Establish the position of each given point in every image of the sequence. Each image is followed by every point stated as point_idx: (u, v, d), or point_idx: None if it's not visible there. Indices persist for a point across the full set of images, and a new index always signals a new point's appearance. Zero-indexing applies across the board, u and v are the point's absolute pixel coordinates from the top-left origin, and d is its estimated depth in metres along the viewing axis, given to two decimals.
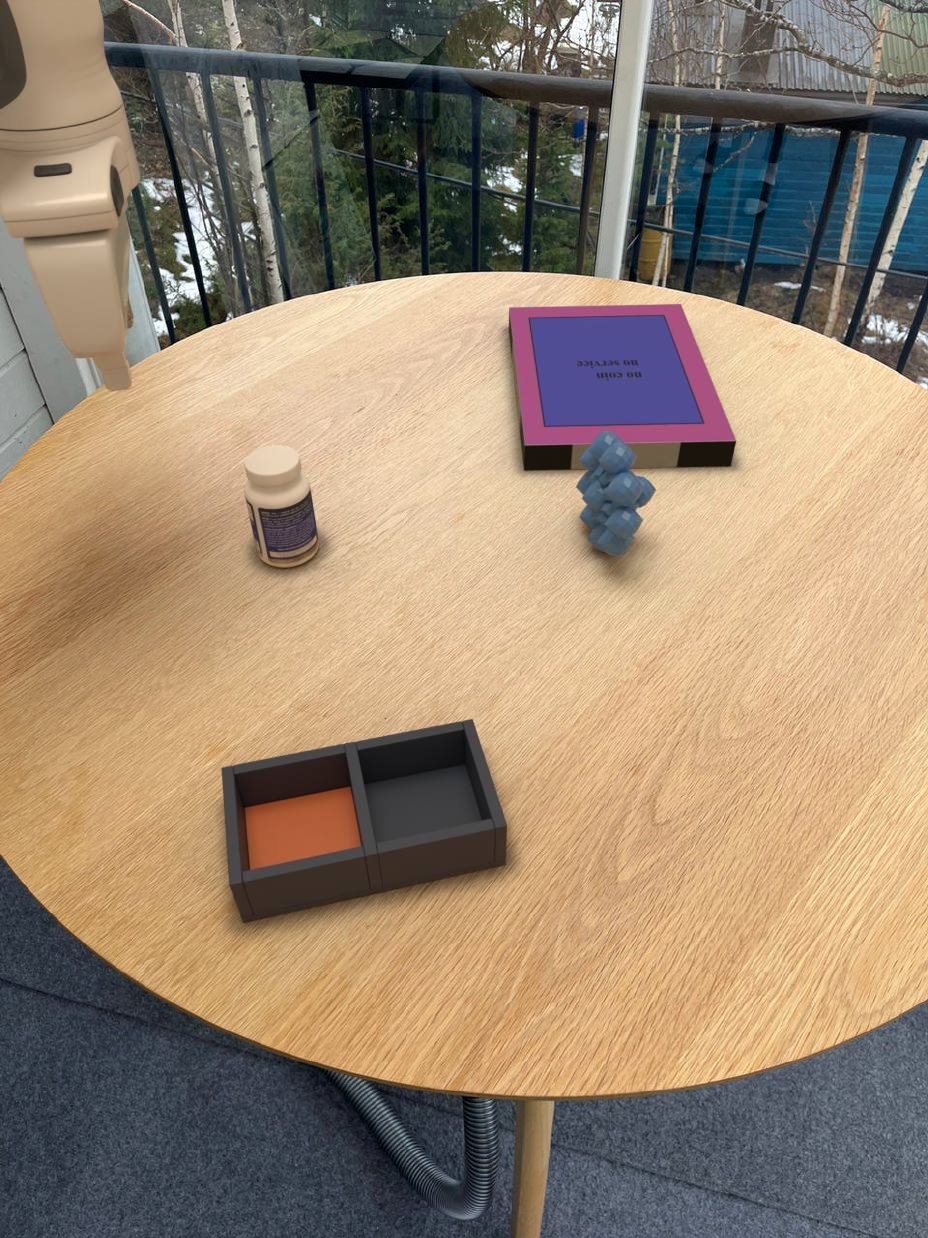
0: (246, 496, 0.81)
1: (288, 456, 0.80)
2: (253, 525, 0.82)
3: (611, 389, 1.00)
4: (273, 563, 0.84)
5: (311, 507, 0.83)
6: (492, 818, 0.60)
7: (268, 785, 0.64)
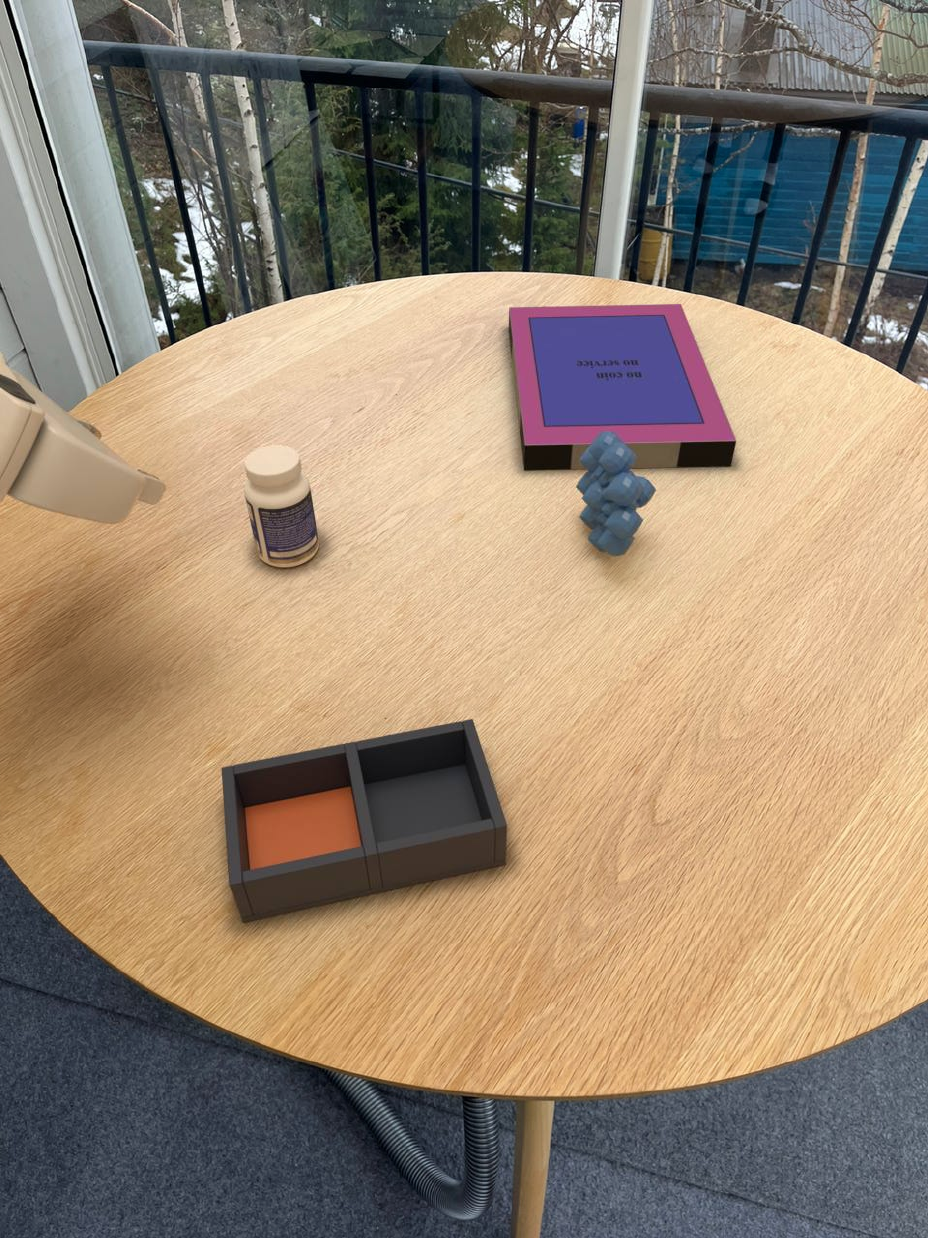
0: (246, 496, 0.81)
1: (288, 456, 0.80)
2: (253, 525, 0.82)
3: (611, 389, 1.00)
4: (273, 563, 0.84)
5: (311, 507, 0.83)
6: (492, 818, 0.60)
7: (268, 785, 0.64)
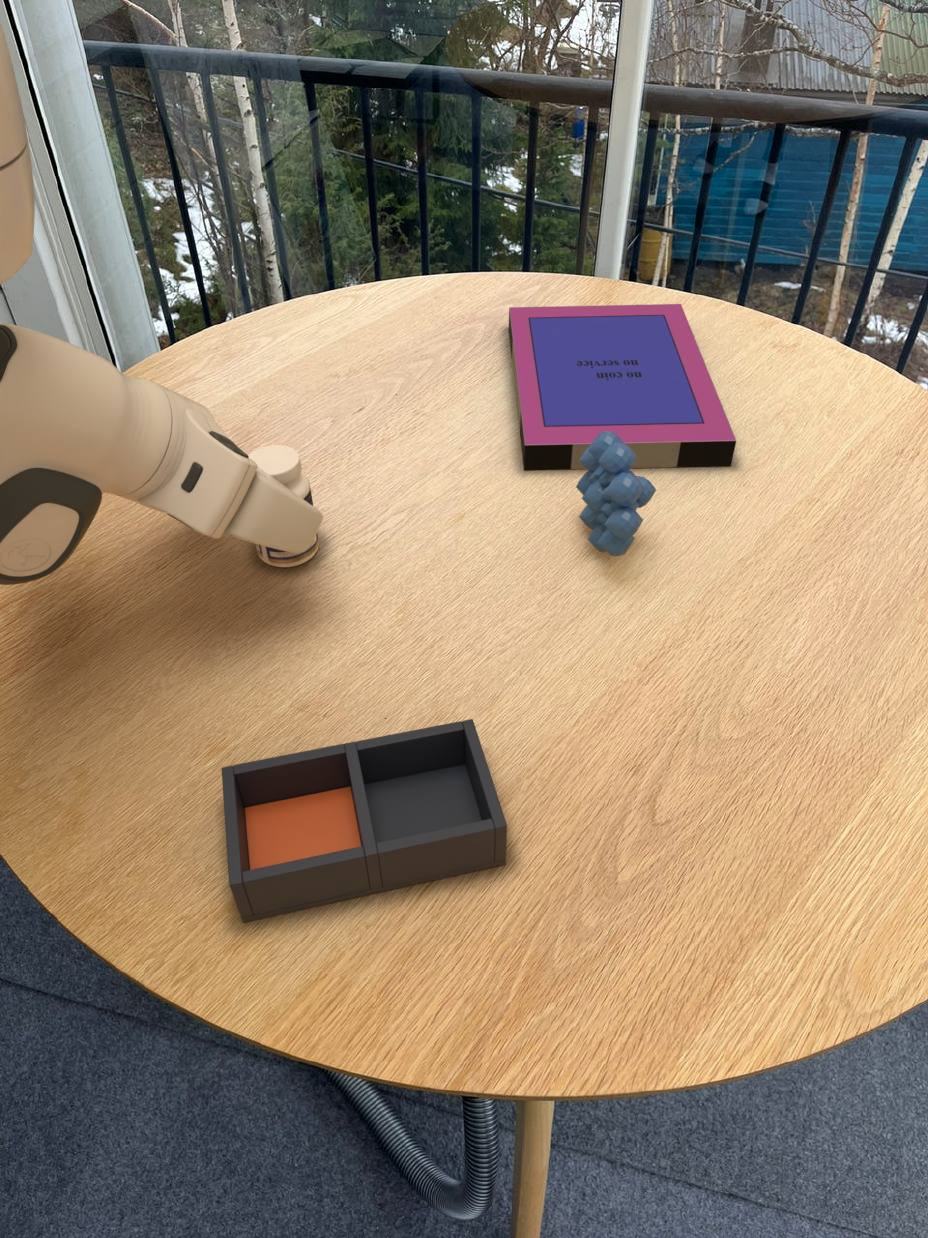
0: None
1: (288, 456, 0.80)
2: None
3: (611, 389, 1.00)
4: (273, 563, 0.84)
5: None
6: (492, 818, 0.60)
7: (268, 785, 0.64)
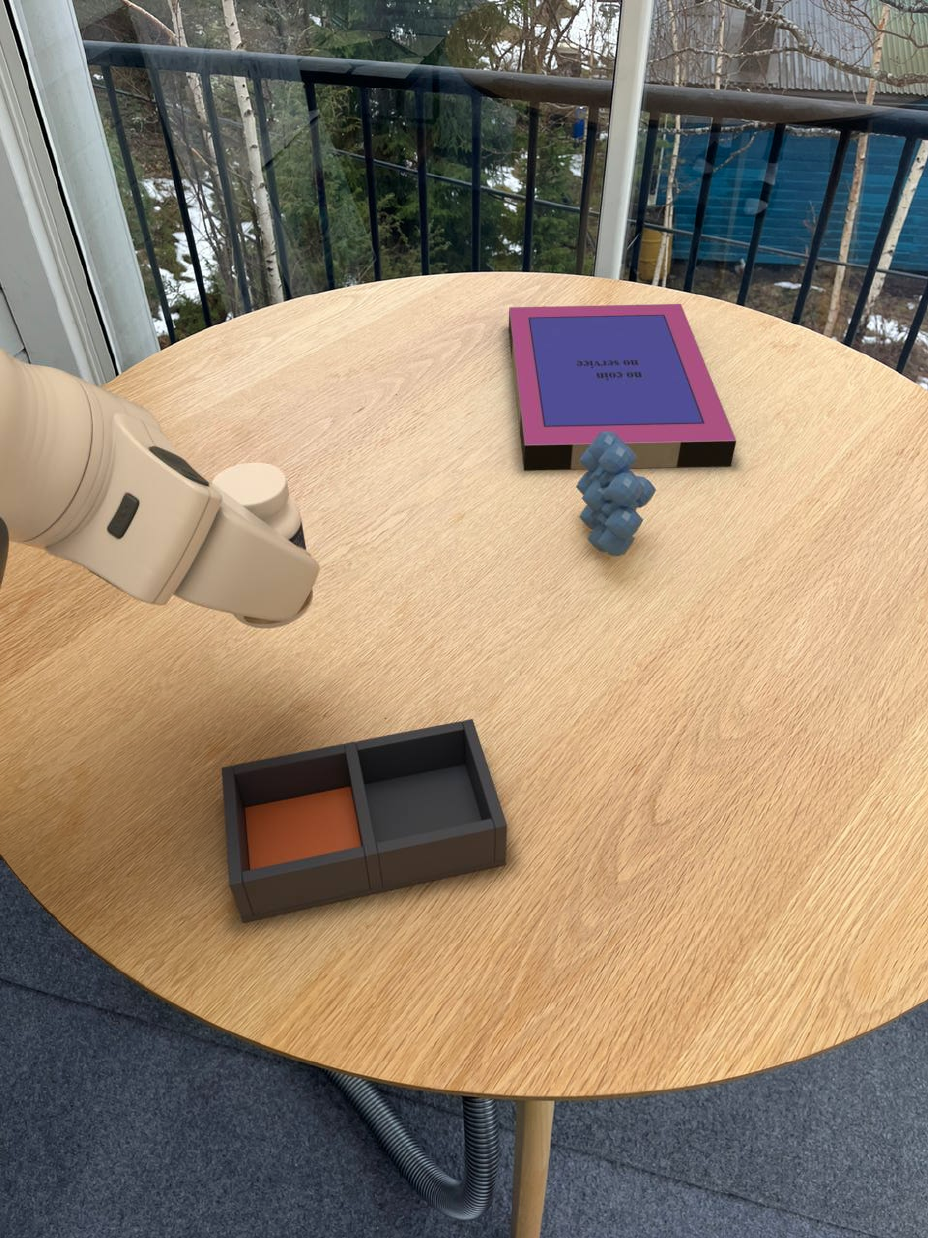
0: None
1: (271, 478, 0.57)
2: None
3: (611, 389, 1.00)
4: (251, 624, 0.62)
5: (303, 548, 0.60)
6: (492, 818, 0.60)
7: (268, 785, 0.64)
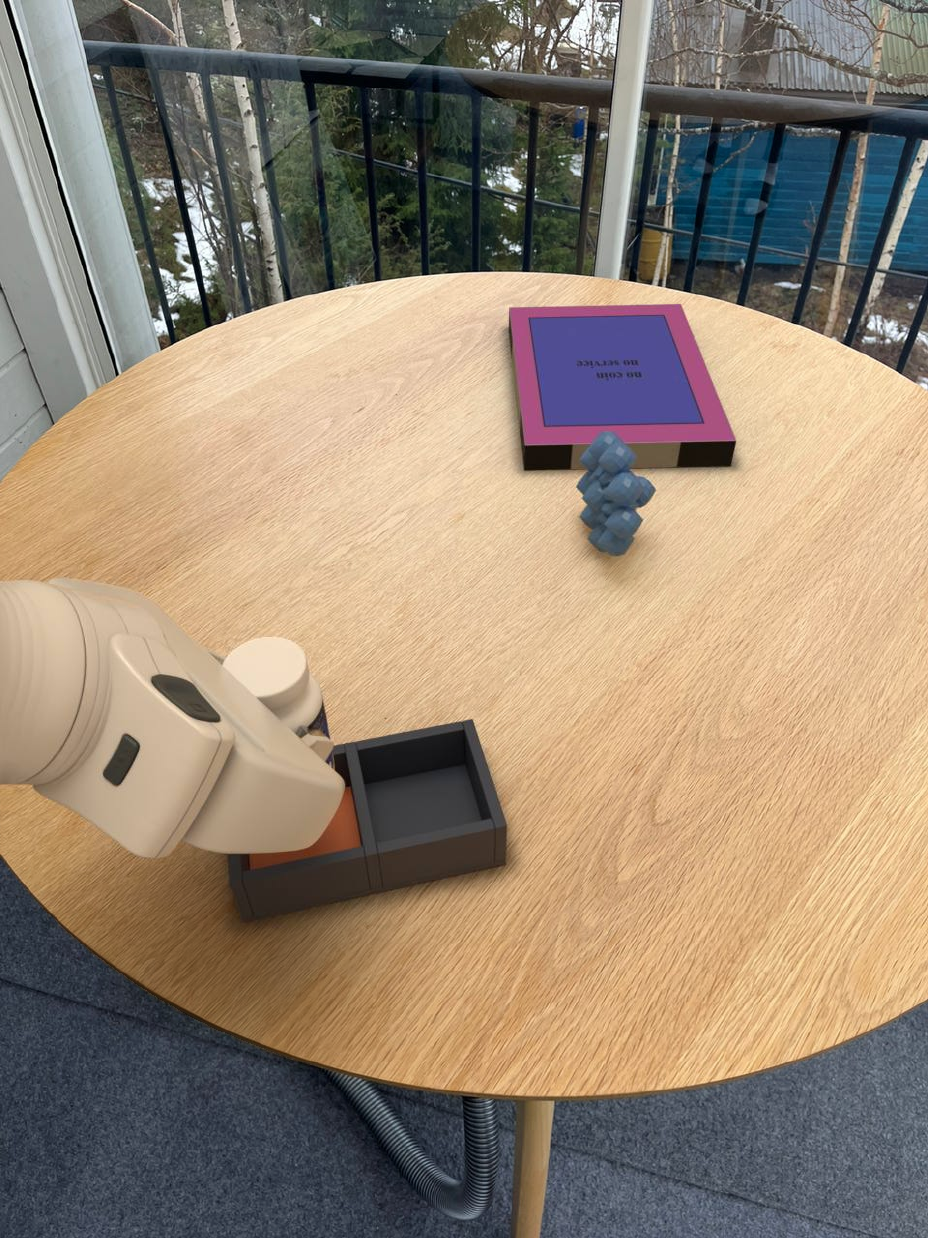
0: None
1: (289, 659, 0.51)
2: None
3: (611, 389, 1.00)
4: None
5: (324, 727, 0.54)
6: (492, 818, 0.60)
7: None
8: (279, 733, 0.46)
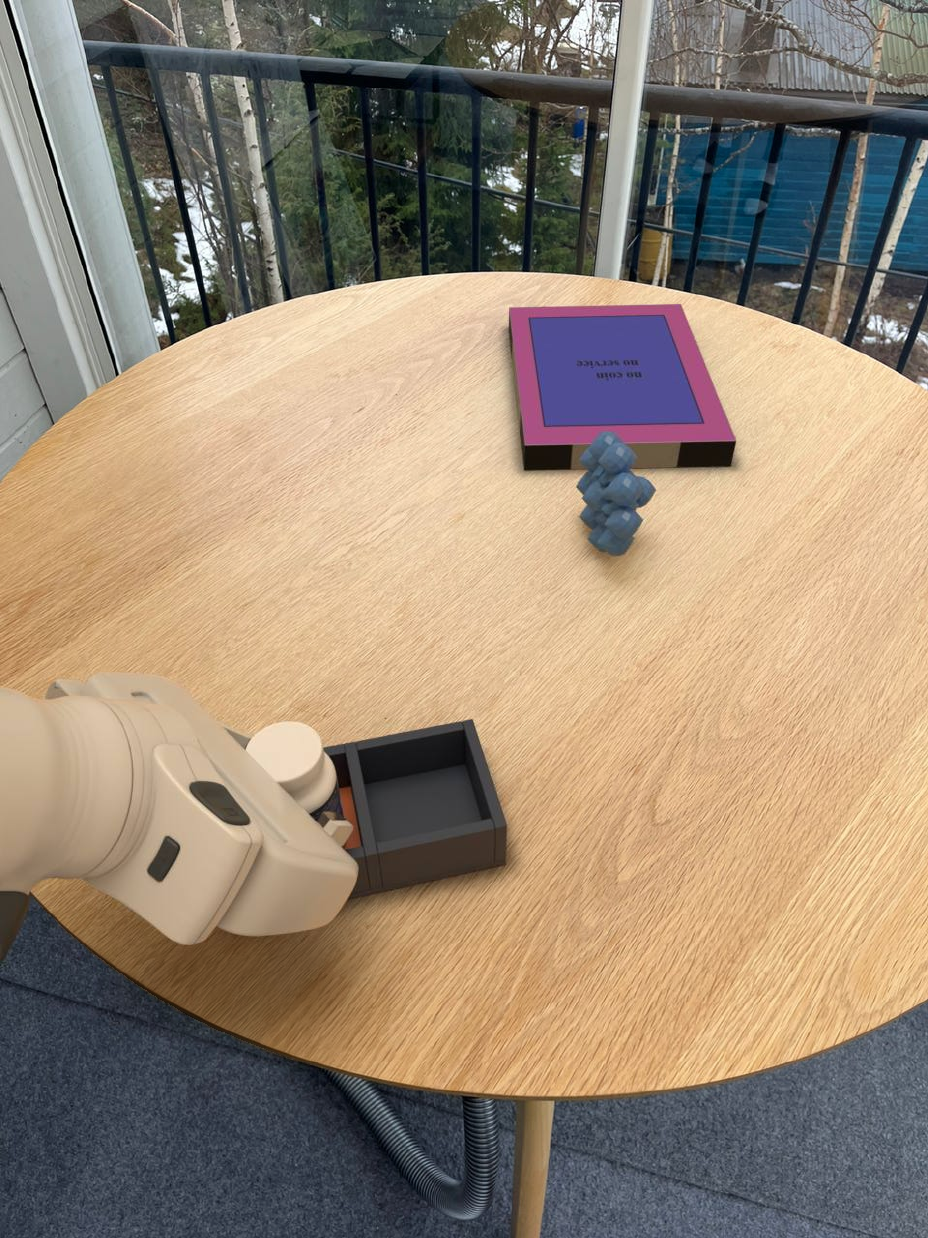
0: None
1: (306, 744, 0.57)
2: None
3: (611, 389, 1.00)
4: None
5: (337, 802, 0.59)
6: (492, 818, 0.60)
7: None
8: (299, 820, 0.51)
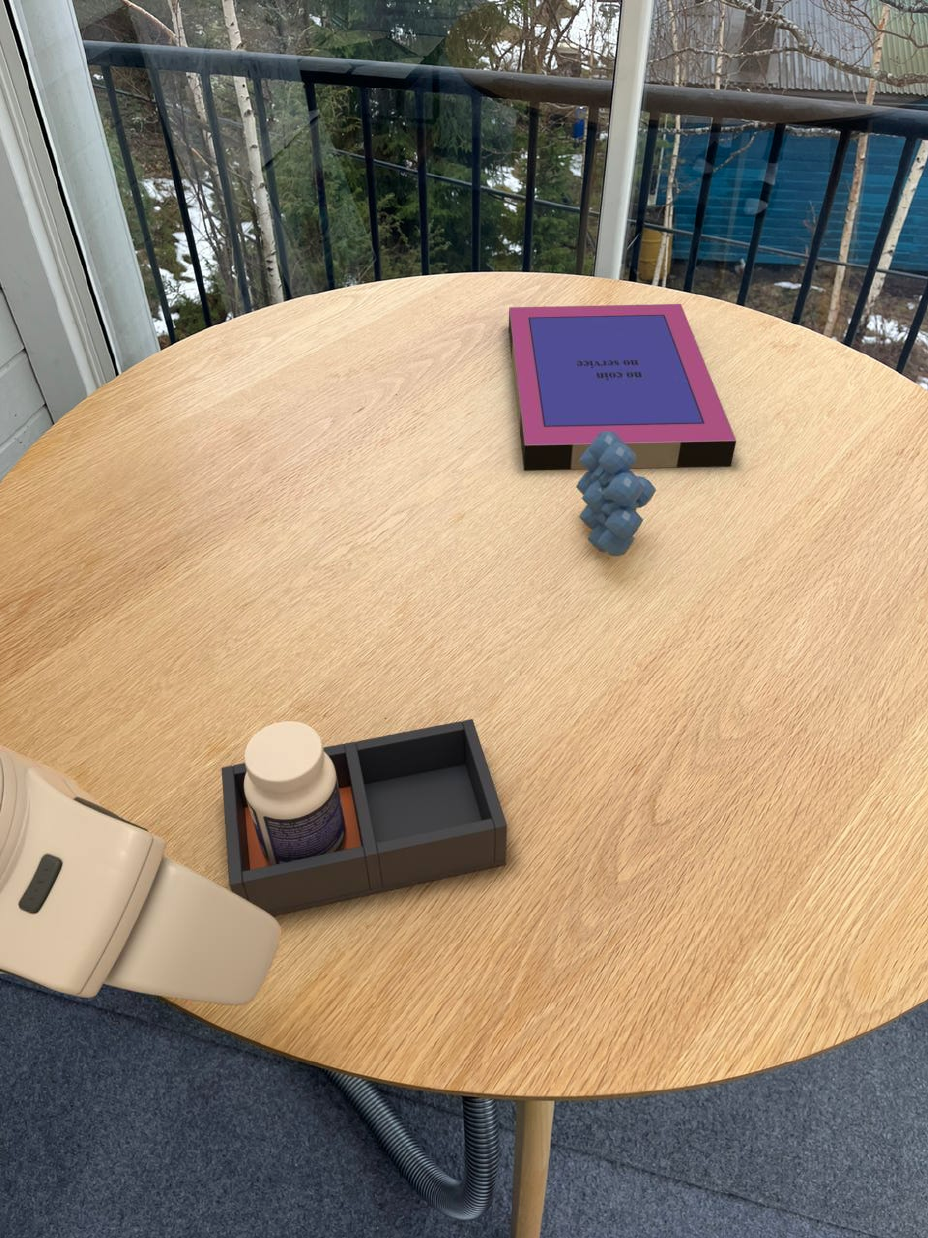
0: (247, 797, 0.57)
1: (306, 744, 0.57)
2: (256, 828, 0.59)
3: (611, 389, 1.00)
4: None
5: (337, 802, 0.59)
6: (492, 818, 0.60)
7: None
8: None
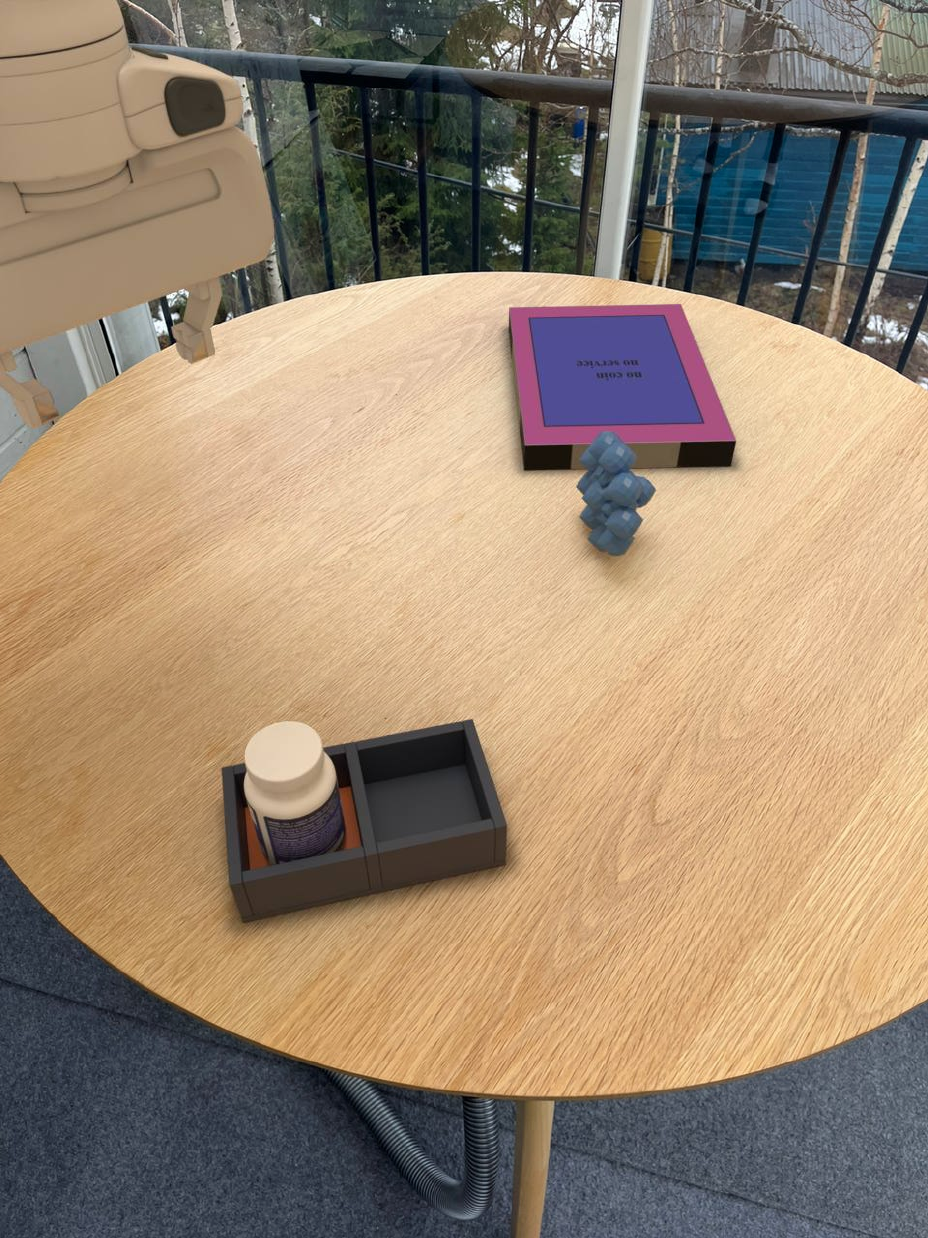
0: (247, 797, 0.57)
1: (306, 744, 0.57)
2: (256, 828, 0.59)
3: (611, 389, 1.00)
4: None
5: (337, 802, 0.59)
6: (492, 818, 0.60)
7: None
8: None
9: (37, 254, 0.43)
